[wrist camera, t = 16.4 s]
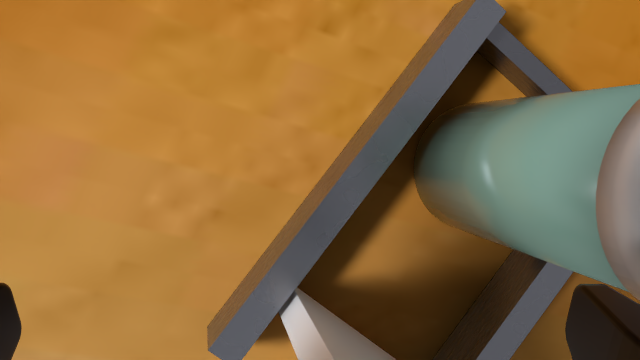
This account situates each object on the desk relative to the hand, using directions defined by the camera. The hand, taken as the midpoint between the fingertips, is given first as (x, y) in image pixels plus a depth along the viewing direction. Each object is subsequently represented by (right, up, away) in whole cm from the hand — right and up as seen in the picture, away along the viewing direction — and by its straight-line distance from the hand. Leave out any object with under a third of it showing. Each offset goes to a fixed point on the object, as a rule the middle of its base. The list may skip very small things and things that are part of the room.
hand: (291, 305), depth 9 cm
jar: (+7, +3, +15) cm, 17 cm away
